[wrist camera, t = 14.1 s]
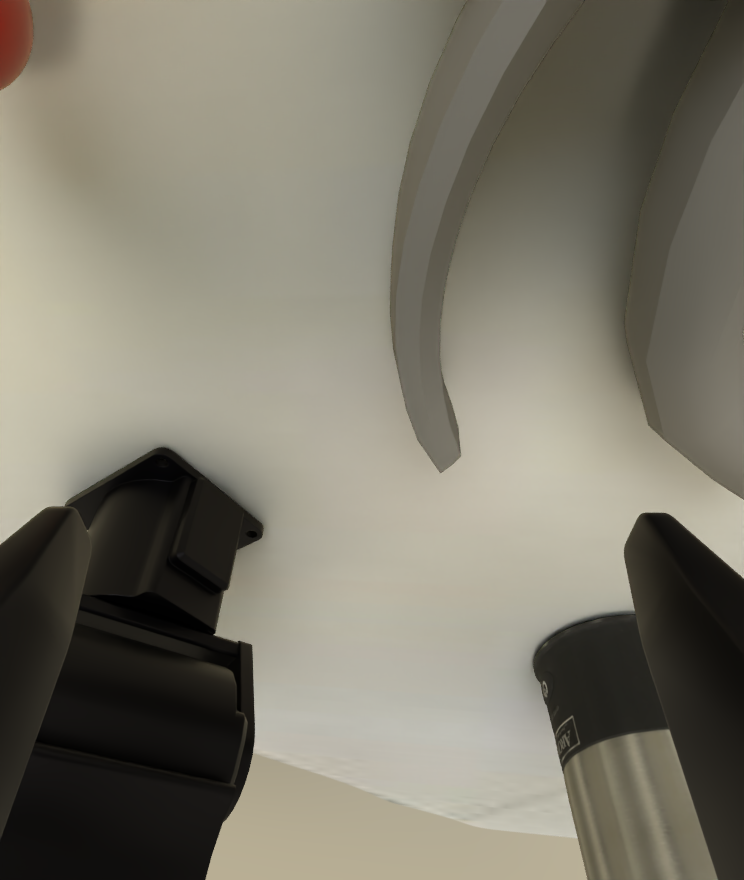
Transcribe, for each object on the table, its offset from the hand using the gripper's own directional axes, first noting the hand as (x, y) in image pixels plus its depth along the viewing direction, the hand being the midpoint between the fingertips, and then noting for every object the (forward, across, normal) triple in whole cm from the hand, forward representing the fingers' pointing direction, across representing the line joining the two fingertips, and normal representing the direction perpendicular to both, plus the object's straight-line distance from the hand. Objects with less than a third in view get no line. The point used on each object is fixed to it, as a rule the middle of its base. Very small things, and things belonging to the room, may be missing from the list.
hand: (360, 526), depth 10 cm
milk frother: (+12, -19, +27) cm, 35 cm away
